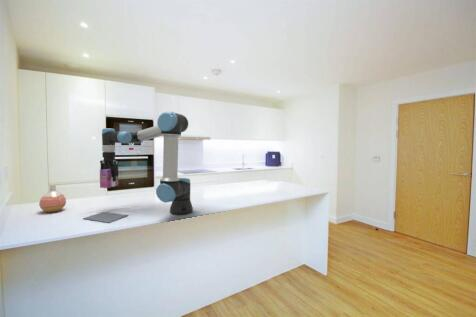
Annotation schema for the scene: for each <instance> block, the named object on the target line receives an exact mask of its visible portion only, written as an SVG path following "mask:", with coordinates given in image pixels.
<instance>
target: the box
mask: <svg viewBox="0 0 476 317" xmlns="http://www.w3.org/2000/svg"><path fill="white" fill-rule="evenodd" d="M111 176H112V174H111V170H110V168H108V169H104V170H99V187H100V189H109V188H112V187H111ZM119 184H120V183H119V175H118V176H116V181H115V186H114V187H117V186H119Z"/></svg>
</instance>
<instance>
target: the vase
mask: <svg viewBox="0 0 476 317" xmlns="http://www.w3.org/2000/svg"><path fill="white" fill-rule="evenodd" d="M56 189H57V187H56V184H49V190H48V192H47V193H45V194H43V196H42V197H41V198H40V199H39V207H40V210H42V211H43V212H46V213H56V212H60V211H61V210H62V209H63V208H64V207H65V206H66V204H67V199H66V196H64V194H62V193H61V192H59V191H57V190H56Z"/></svg>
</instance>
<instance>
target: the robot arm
mask: <svg viewBox="0 0 476 317" xmlns="http://www.w3.org/2000/svg"><path fill="white" fill-rule="evenodd" d="M156 121H157V125H155V126H150V127H148V128H144V129H141V130H138V131H133V132H130V131H123V130H122V131H120V130H119V131H116V130H115V128H107V127H105V128H103V129H102V130H101V140H102V141H101V142H102V144H101V145H102V146H101V147H102V148H101V149H102V153H101V154H102V158H103V160H100V161H99V162H100V167H99V168H100V170H104V169H110V170H111V174H112V176H111V187H110V188H114V187H116V186H115V181H116V176H118V177H119V160H115V158H116V144H142V143H143V142H145V141H148V140H153V139H155V138H159V137H163V154H162V155H163V156H162V163H163V164H162V177H161V178H160V179H159V185H158V186H157V187H156V190H155V194H156V197H157V198H158V199H159V200H160V201H161V202H162V203H170V202H171V205H170V206H169V207H170V208H169V213H170V214H171V215H177V216H181V215H182V216H183V215H189V214H191V213H193V212H194V209H193V208H194V207H193V204H192V200H191V179H190V178H187V177H178V176H179V175H178V172H179V171H178V170H179V169H178V168H179V138H180V137H181V136H182V133H184V132H186V131H187V129H188V128H189V120H188V118H187V116H185V115H183V114H180V113H177V112H174V111H164V112H162V113H161V114H160V115H158V118H157V120H156ZM100 170H99V171H100Z"/></svg>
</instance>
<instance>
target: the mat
mask: <svg viewBox="0 0 476 317" xmlns="http://www.w3.org/2000/svg"><path fill="white" fill-rule="evenodd" d="M128 216H129V215H128V214H123V213H116V212H115V213H114V212H107V211H102V212H99V213H95V214H92V215H89V216H85V217H83V218H82V220H85V221H92V222H93V221H94V222H99V223H105V224H111V223H113V222H117V221H119V220H121V219H124V218H127V217H128Z"/></svg>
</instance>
